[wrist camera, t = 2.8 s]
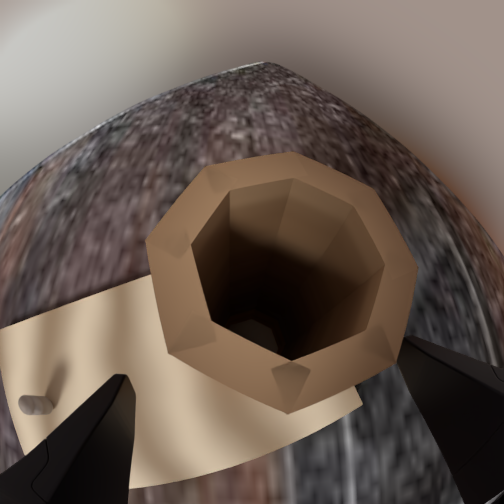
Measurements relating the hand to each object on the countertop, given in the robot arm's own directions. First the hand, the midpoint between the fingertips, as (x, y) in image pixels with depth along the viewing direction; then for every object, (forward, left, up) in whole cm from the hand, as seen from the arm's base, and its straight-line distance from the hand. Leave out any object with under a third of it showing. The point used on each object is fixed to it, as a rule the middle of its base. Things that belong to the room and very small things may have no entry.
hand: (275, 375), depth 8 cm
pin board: (+6, +4, -10) cm, 13 cm away
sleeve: (+1, -2, -9) cm, 9 cm away
